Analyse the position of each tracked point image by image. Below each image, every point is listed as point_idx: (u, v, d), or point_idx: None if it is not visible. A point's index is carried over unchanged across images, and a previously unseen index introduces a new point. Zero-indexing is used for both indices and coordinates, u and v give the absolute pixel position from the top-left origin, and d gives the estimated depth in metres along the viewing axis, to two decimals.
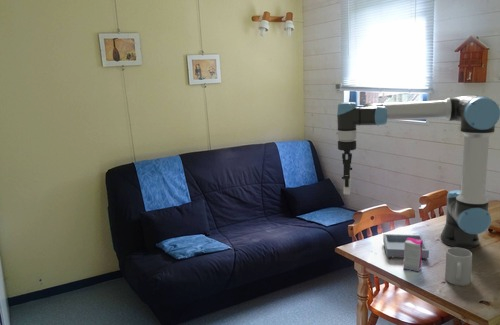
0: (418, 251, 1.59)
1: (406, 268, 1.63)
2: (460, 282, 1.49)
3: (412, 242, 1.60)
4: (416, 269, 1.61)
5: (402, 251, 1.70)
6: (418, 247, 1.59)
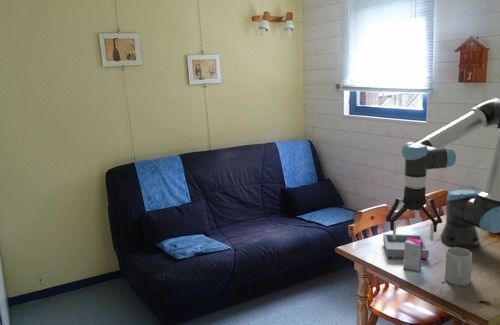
0: (418, 251, 1.59)
1: (406, 268, 1.63)
2: (460, 282, 1.49)
3: (412, 242, 1.60)
4: (416, 269, 1.61)
5: (402, 251, 1.70)
6: (418, 247, 1.59)
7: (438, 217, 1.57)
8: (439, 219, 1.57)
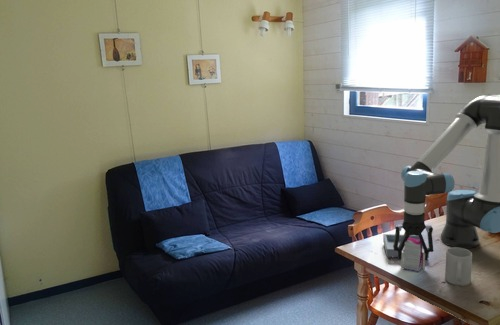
0: (418, 251, 1.59)
1: (406, 268, 1.63)
2: (460, 282, 1.49)
3: (412, 242, 1.60)
4: (416, 269, 1.61)
5: None
6: (418, 247, 1.59)
7: (431, 246, 1.60)
8: (431, 248, 1.60)
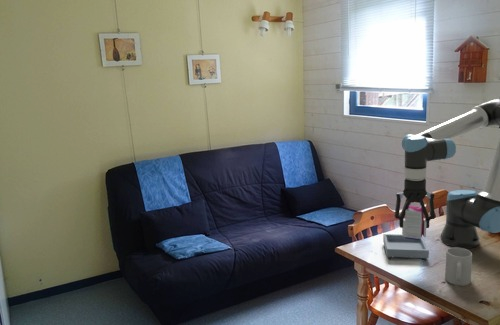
0: (419, 218, 1.56)
1: (408, 237, 1.60)
2: (460, 282, 1.49)
3: (413, 210, 1.58)
4: (418, 237, 1.58)
5: (402, 251, 1.70)
6: (419, 214, 1.56)
7: (432, 212, 1.57)
8: (432, 215, 1.57)
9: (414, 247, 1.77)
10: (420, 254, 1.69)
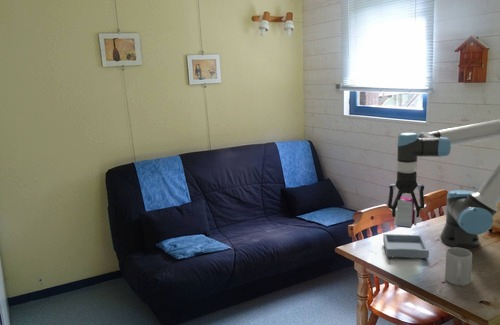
0: (410, 208, 1.70)
1: (399, 225, 1.73)
2: (460, 282, 1.49)
3: (404, 200, 1.71)
4: (409, 225, 1.72)
5: (402, 251, 1.70)
6: (410, 204, 1.69)
7: (422, 203, 1.71)
8: (422, 205, 1.71)
9: (414, 247, 1.77)
10: (420, 254, 1.69)
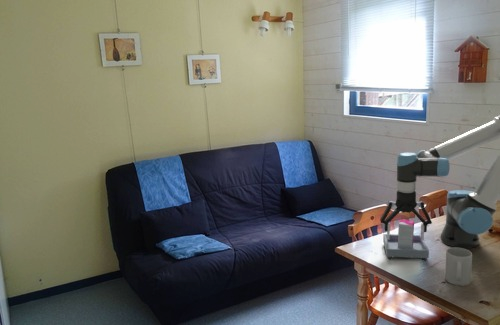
0: (411, 231, 1.72)
1: None
2: (460, 282, 1.49)
3: (405, 223, 1.73)
4: (409, 248, 1.74)
5: (402, 251, 1.70)
6: (411, 227, 1.72)
7: (428, 218, 1.72)
8: (429, 220, 1.72)
9: (414, 247, 1.77)
10: (420, 254, 1.69)
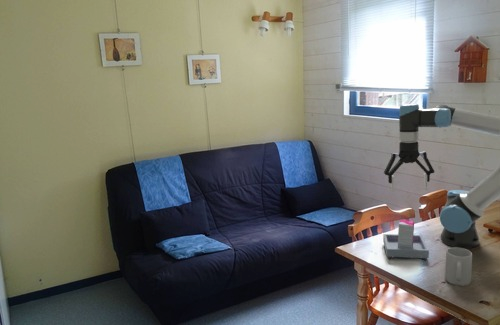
0: (411, 231, 1.72)
1: None
2: (460, 282, 1.49)
3: (405, 223, 1.73)
4: (409, 248, 1.74)
5: (402, 251, 1.70)
6: (411, 227, 1.72)
7: (430, 167, 1.76)
8: (431, 169, 1.76)
9: (414, 247, 1.77)
10: (420, 254, 1.69)
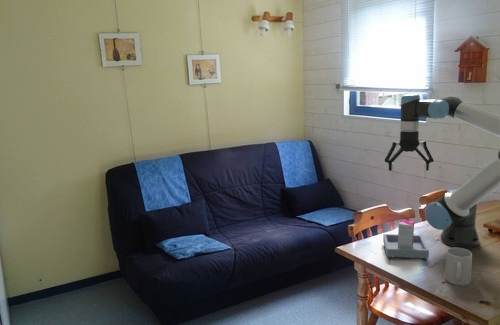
0: (411, 231, 1.72)
1: None
2: (460, 282, 1.49)
3: (405, 223, 1.73)
4: (409, 248, 1.74)
5: (402, 251, 1.70)
6: (411, 227, 1.72)
7: (430, 157, 1.82)
8: (431, 158, 1.82)
9: (414, 247, 1.77)
10: (420, 254, 1.69)
